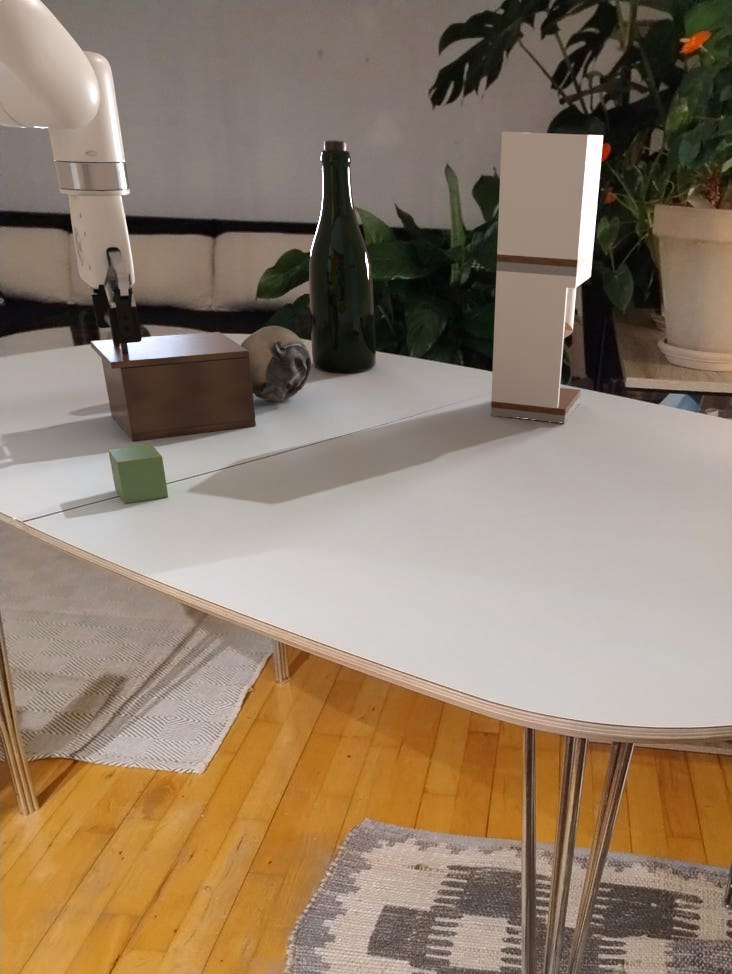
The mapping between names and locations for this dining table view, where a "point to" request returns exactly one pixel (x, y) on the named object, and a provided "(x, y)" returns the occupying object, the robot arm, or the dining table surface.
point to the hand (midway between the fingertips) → (119, 334)
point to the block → (138, 473)
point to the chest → (181, 397)
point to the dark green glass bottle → (340, 275)
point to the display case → (541, 267)
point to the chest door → (167, 349)
